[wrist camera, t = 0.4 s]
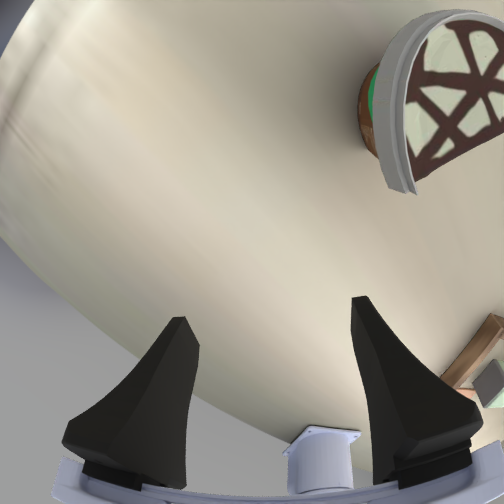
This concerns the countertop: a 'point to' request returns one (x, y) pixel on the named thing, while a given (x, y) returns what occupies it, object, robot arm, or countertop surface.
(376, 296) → the countertop surface
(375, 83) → the food container
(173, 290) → the countertop surface
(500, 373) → the sage block
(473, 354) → the arena
